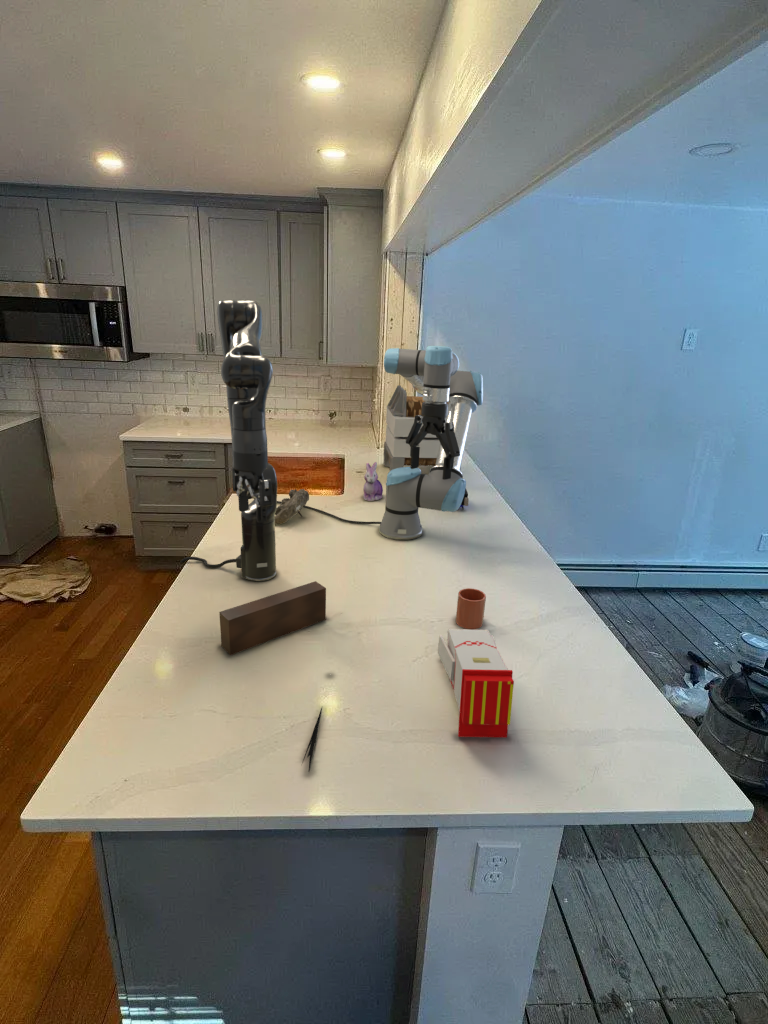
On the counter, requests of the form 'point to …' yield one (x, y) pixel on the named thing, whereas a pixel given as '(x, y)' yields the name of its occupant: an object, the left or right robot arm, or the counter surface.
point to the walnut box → (272, 617)
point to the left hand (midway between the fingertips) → (252, 516)
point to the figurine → (372, 484)
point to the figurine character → (465, 500)
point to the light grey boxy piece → (406, 432)
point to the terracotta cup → (470, 608)
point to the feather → (313, 740)
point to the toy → (478, 682)
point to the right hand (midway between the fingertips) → (430, 473)
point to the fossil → (291, 506)
